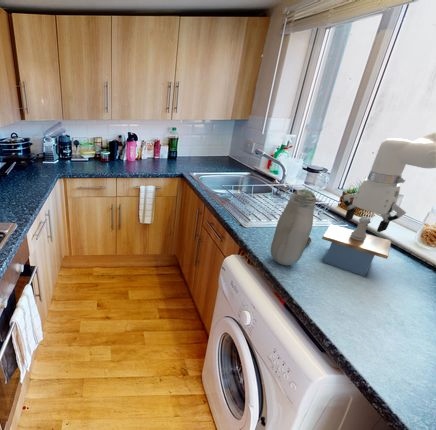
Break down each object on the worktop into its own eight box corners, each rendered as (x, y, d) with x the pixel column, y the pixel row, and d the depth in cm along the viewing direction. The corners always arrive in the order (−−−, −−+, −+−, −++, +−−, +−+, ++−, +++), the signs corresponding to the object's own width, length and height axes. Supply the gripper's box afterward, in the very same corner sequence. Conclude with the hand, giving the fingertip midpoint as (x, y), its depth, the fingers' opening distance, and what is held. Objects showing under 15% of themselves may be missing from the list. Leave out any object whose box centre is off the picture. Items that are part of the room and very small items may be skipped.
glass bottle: (296, 273, 99) (322, 198, 88) (264, 262, 105) (285, 191, 93) (300, 260, 107) (325, 190, 95) (270, 251, 112) (290, 183, 100)
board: (389, 243, 101) (391, 240, 101) (386, 259, 92) (388, 255, 92) (329, 226, 113) (330, 224, 112) (321, 239, 104) (322, 236, 103)
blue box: (368, 262, 106) (378, 241, 103) (364, 276, 99) (375, 254, 95) (330, 250, 114) (338, 230, 110) (324, 262, 106) (332, 241, 102)
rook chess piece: (353, 240, 100) (361, 220, 97) (346, 234, 104) (355, 214, 101) (367, 242, 100) (376, 221, 96) (360, 236, 103) (369, 216, 100)
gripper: (423, 184, 87) (400, 233, 94) (359, 170, 101) (343, 214, 108) (411, 187, 84) (388, 238, 91) (347, 172, 98) (331, 217, 105)
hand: (363, 225), depth 100 cm, fingers open, 9 cm apart
